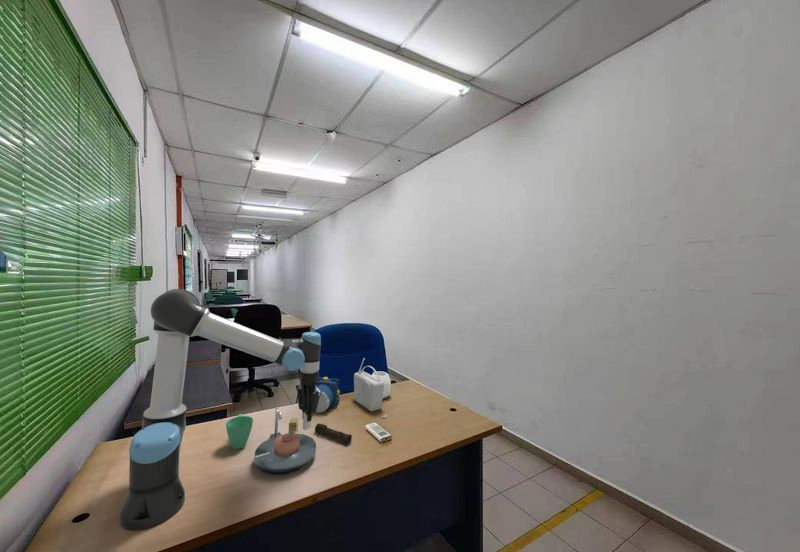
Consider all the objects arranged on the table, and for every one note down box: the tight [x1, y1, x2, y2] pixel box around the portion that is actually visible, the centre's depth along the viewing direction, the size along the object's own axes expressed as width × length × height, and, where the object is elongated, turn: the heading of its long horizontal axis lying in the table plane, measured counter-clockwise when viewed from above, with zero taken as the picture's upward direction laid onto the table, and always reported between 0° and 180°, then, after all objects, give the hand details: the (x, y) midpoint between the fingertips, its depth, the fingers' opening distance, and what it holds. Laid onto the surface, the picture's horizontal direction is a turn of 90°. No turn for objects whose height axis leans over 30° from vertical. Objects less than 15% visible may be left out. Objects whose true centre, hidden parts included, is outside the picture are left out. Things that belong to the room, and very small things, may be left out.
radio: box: [353, 357, 384, 412], centre depth 171 cm, size 22×8×25 cm, turn 37°
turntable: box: [254, 417, 317, 472], centre depth 121 cm, size 24×22×7 cm
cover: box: [274, 432, 300, 457], centre depth 119 cm, size 9×9×6 cm
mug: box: [225, 413, 254, 450], centre depth 130 cm, size 15×10×10 cm
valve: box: [315, 376, 341, 414], centre depth 165 cm, size 13×15×15 cm
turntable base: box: [262, 463, 308, 476], centre depth 120 cm, size 18×18×2 cm
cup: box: [371, 370, 392, 400], centre depth 184 cm, size 13×13×14 cm
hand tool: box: [314, 423, 353, 446], centre depth 137 cm, size 19×4×5 cm, turn 61°
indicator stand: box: [269, 406, 283, 439], centre depth 132 cm, size 10×4×14 cm, turn 33°
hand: (306, 428), depth 128 cm, fingers closed
